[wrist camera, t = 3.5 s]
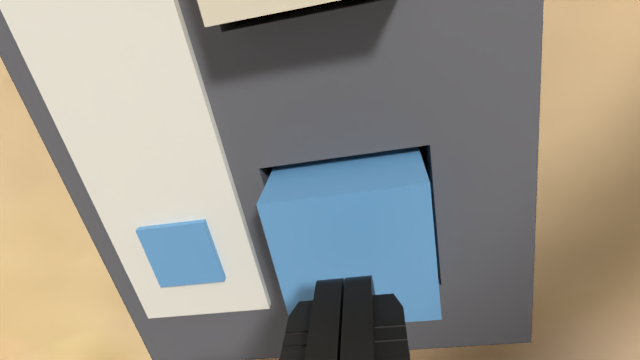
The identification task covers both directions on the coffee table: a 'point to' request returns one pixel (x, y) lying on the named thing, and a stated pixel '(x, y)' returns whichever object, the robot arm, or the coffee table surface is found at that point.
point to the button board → (283, 148)
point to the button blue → (354, 227)
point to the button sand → (247, 9)
